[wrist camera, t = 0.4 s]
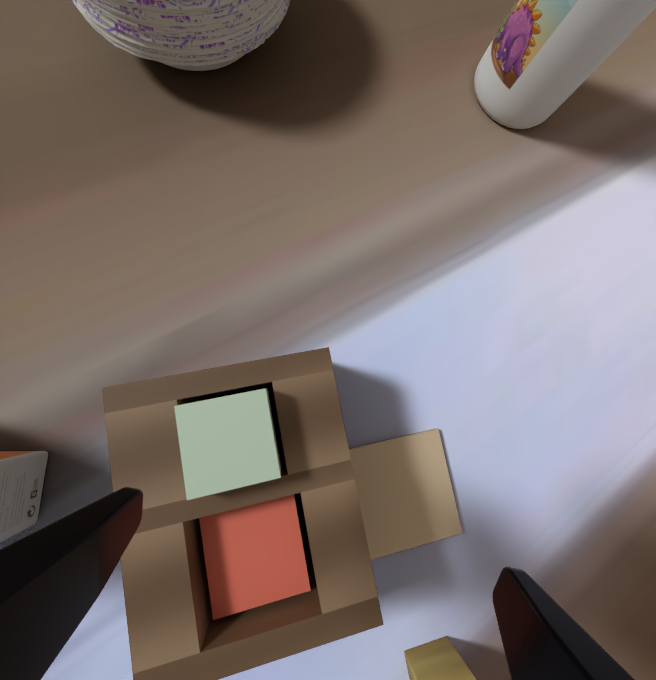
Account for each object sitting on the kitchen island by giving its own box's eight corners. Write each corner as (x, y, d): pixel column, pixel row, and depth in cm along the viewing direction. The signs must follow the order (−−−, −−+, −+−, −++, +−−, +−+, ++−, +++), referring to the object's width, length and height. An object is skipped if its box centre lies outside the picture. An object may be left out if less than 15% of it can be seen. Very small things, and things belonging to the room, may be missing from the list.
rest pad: (459, 530, 23) (462, 533, 22) (362, 559, 22) (364, 562, 21) (435, 428, 24) (438, 429, 23) (341, 450, 23) (342, 451, 22)
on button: (280, 463, 18) (280, 477, 15) (203, 481, 17) (186, 500, 14) (268, 388, 18) (265, 388, 15) (192, 403, 17) (174, 406, 14)
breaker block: (355, 561, 22) (383, 624, 16) (179, 612, 20) (136, 706, 14) (316, 358, 23) (328, 347, 17) (150, 389, 21) (101, 388, 16)
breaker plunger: (307, 567, 19) (310, 590, 17) (221, 592, 18) (213, 620, 16) (292, 481, 20) (293, 493, 17) (208, 502, 19) (198, 516, 17)
